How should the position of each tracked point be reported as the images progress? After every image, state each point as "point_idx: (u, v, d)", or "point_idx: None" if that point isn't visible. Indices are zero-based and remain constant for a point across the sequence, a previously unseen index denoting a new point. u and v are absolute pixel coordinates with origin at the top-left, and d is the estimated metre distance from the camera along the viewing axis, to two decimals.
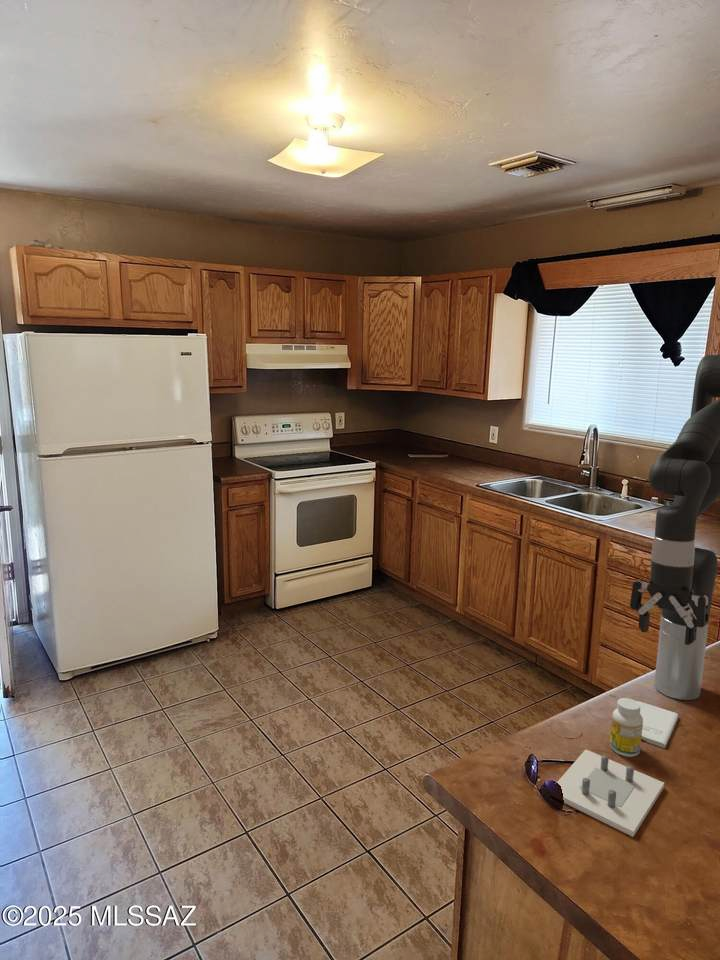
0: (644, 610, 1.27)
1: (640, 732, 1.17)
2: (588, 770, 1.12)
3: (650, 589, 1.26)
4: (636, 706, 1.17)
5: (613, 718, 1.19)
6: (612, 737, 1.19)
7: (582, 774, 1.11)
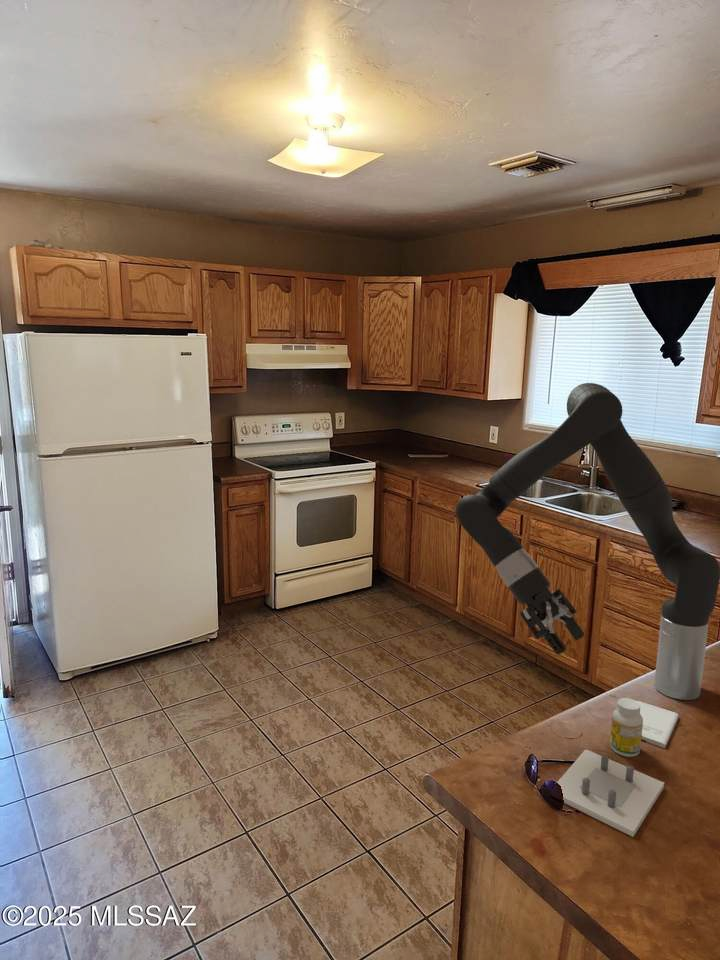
0: None
1: (640, 732, 1.17)
2: (588, 770, 1.12)
3: None
4: (636, 706, 1.17)
5: (613, 718, 1.19)
6: (612, 737, 1.19)
7: (582, 774, 1.11)
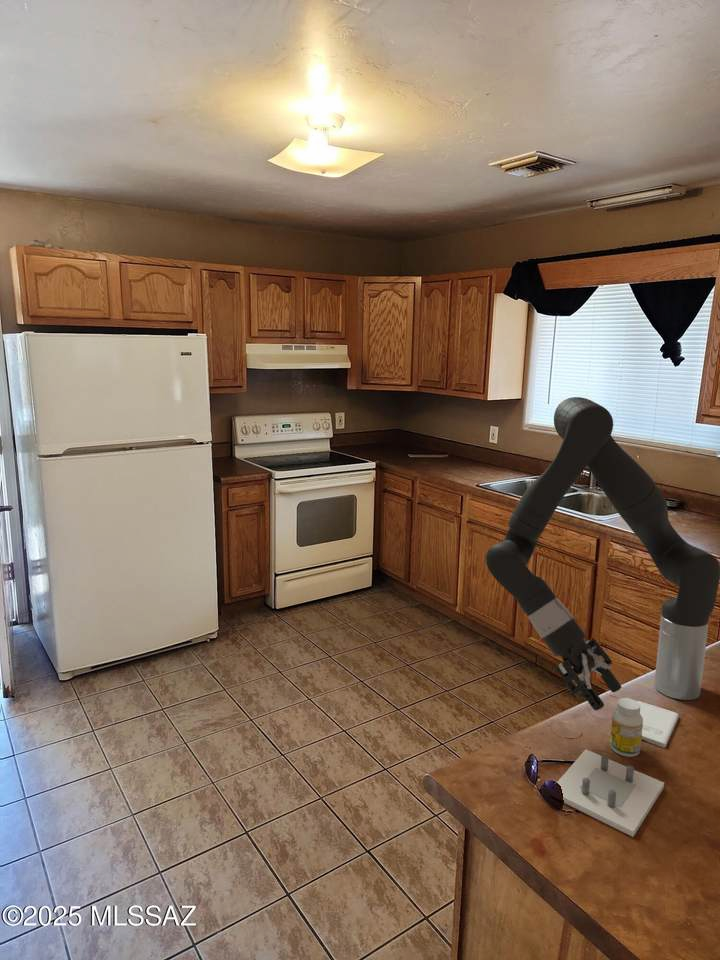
0: None
1: (640, 732, 1.17)
2: (588, 770, 1.12)
3: None
4: (636, 706, 1.17)
5: (613, 718, 1.19)
6: (612, 737, 1.19)
7: (582, 774, 1.11)
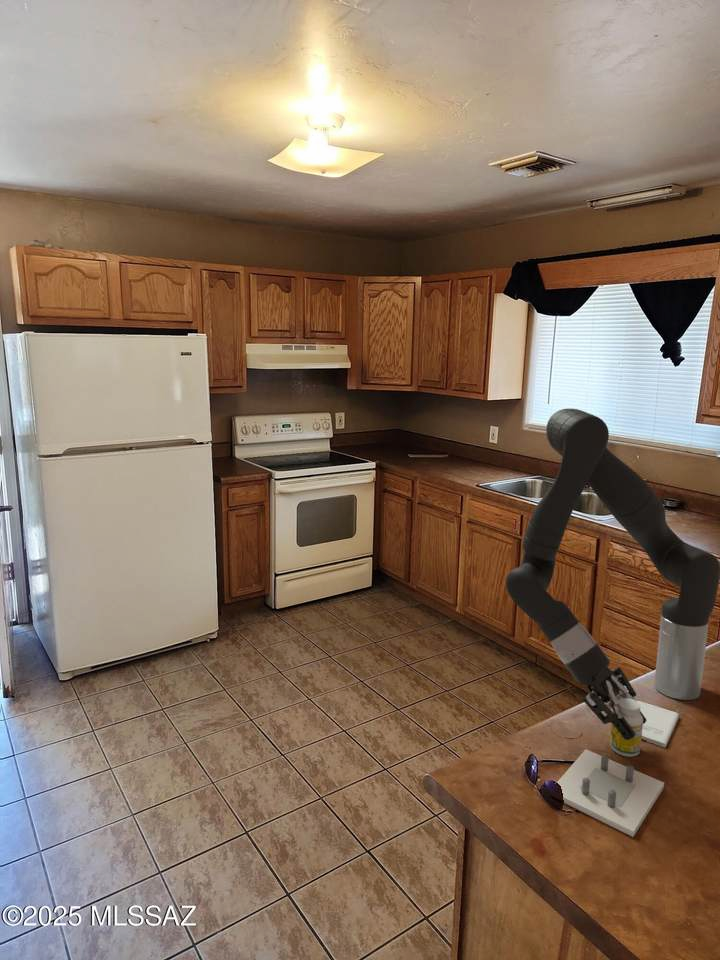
0: None
1: (640, 732, 1.17)
2: (588, 770, 1.12)
3: None
4: (636, 706, 1.17)
5: None
6: (612, 737, 1.19)
7: (582, 774, 1.11)
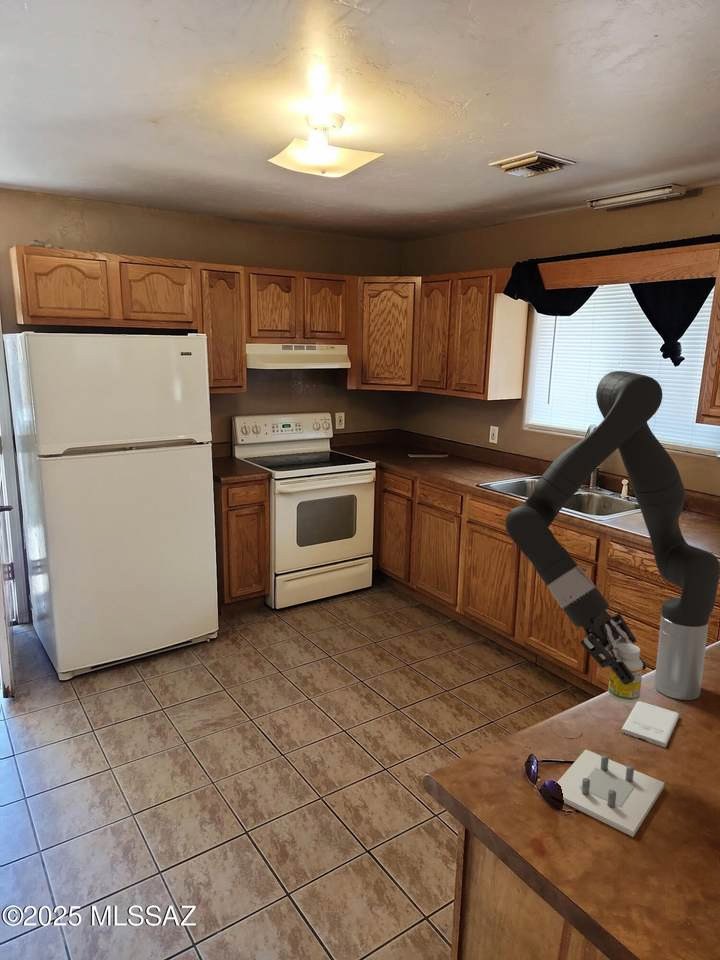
0: None
1: (640, 677, 1.12)
2: (588, 770, 1.12)
3: None
4: (636, 650, 1.12)
5: None
6: (610, 683, 1.15)
7: (582, 774, 1.11)
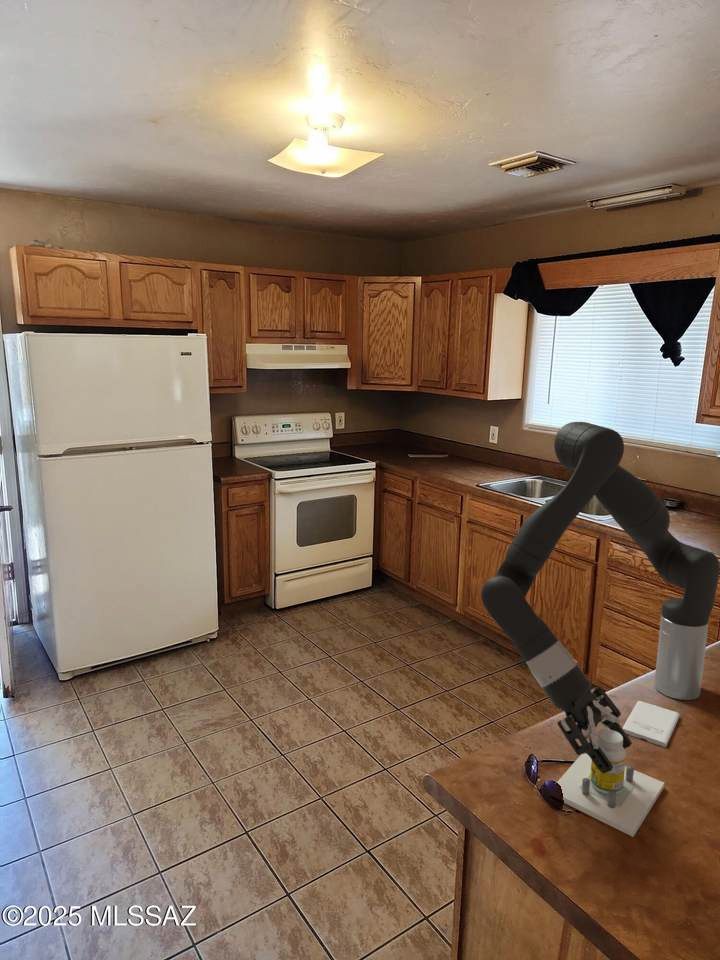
0: None
1: (623, 768, 1.05)
2: (588, 770, 1.12)
3: None
4: (618, 739, 1.05)
5: None
6: (592, 772, 1.08)
7: (582, 774, 1.11)
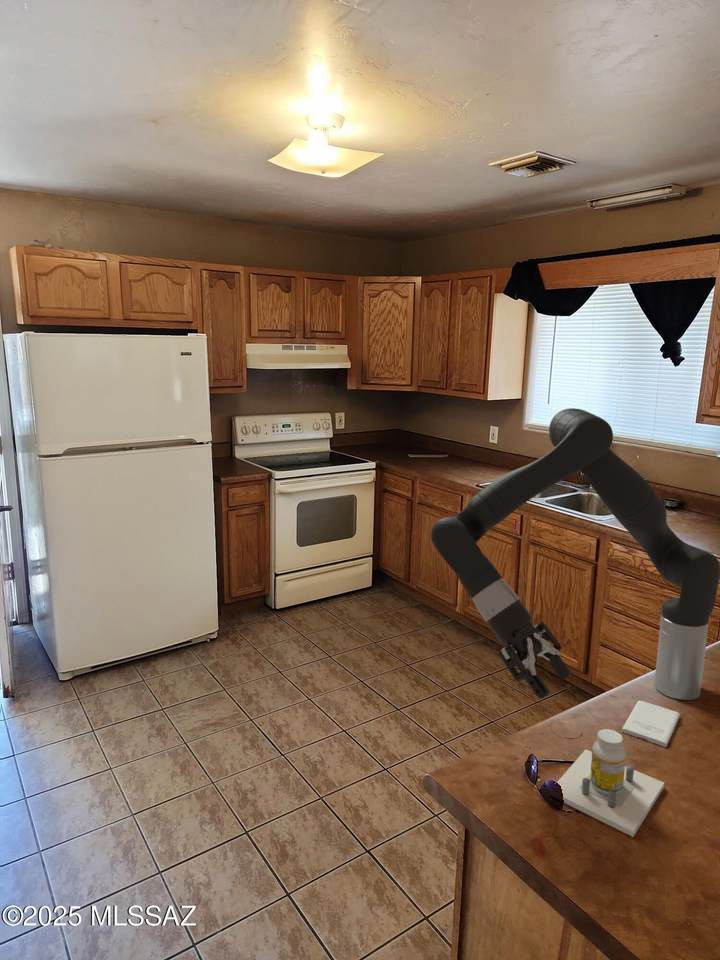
0: None
1: (622, 768, 1.05)
2: (588, 770, 1.12)
3: None
4: (618, 739, 1.05)
5: (593, 751, 1.07)
6: (592, 773, 1.08)
7: (582, 774, 1.11)
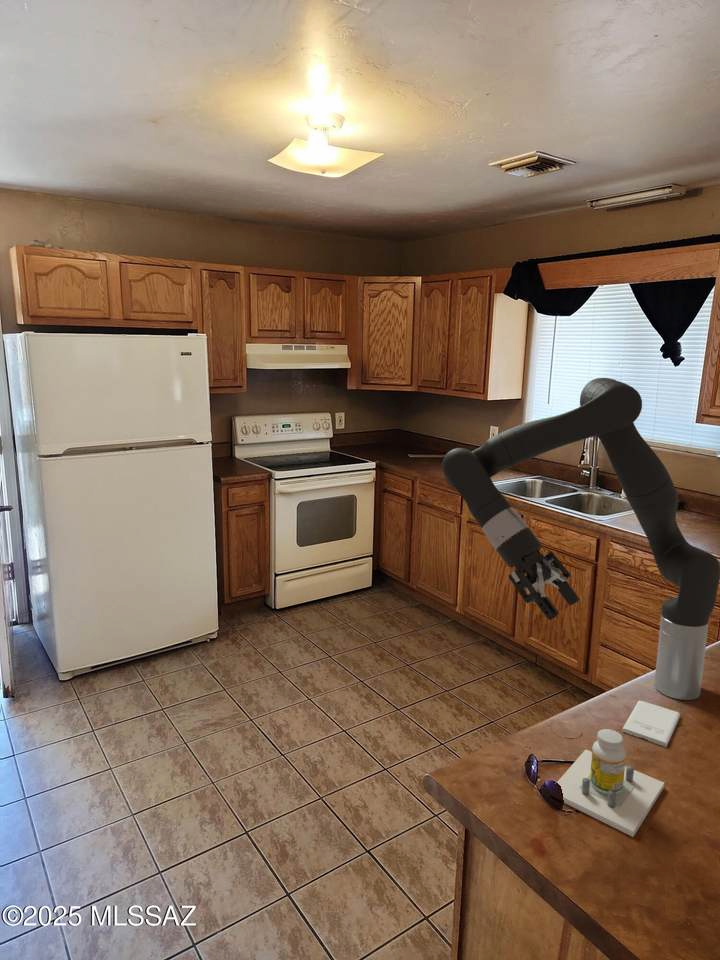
0: None
1: (622, 768, 1.05)
2: (588, 770, 1.12)
3: None
4: (618, 739, 1.05)
5: (593, 751, 1.07)
6: (592, 772, 1.08)
7: (582, 774, 1.11)
